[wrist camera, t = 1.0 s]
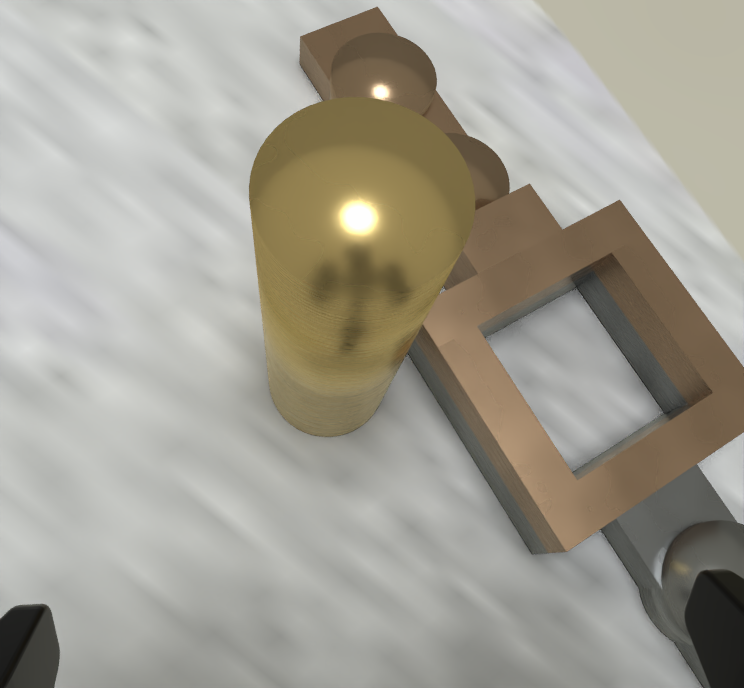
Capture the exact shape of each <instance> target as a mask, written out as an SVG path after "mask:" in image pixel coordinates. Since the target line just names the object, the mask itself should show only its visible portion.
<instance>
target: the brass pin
mask: <svg viewBox="0 0 744 688" xmlns="http://www.w3.org/2000/svg"><path fill="white" fill-rule="evenodd" d="M249 201H250V210H251V219H252V229H253V238H254V247H255V257H256V266H257V275H258V285H259V294H260V303H261V313H262V322H263V331H264V341H265V350H266V359H267V369H268V378H269V387H270V393H271V396H272V399H273V402H274V404H275V406H276V408H277V409H278V411H279V412H280V414H281V415H282V416H283V417H284V419H285V420H286V421H288V422H289V423H290V424H291V425H293V426H294V427H295V428H297V429H299V430H301V431H303V432H305V433H308V434H311V435H315V436H322V437H333V436H339V435H343V434H347V433H349V432H352V431H354V430H356V429H357V428H359V427H360V426H362V425H363V424H364V423H366V422H367V421H368V420H369V419H370V418H371V416H372V415H373V414H374V413H375V411H376V410H377V408H378V406H379V404H380V402H381V400H382V399H383V397H384V395H385V393H386V391H387V389H388V387H389V386H390V384H391V382H392V380H393V378H394V376H395V374H396V373H397V371H398V369H399V367H400V365H401V363H402V361H403V360H404V358H405V356H406V354H407V352H408V350H409V348H410V347H411V345H412V343H413V341H414V339H415V337H416V335H417V334H418V332H419V330H420V328H421V326H422V324H423V322H424V321H425V319H426V317H427V315H428V313H429V311H430V309H431V308H432V306H433V304H434V302H435V300H436V298H437V296H438V295H439V293H440V291H441V289H442V287H443V285H444V283H445V281H446V280H447V278H448V276H449V274H450V272H451V270H452V268H453V267H454V265H455V263H456V261H457V259H458V257H459V255H460V254H461V252H462V250H463V248H464V246H465V244H466V242H467V240H468V238H469V236H470V232H471V229H472V226H473V222H474V215H475V192H474V185H473V181H472V178H471V174H470V171H469V169H468V167H467V165H466V162H465V160H464V158H463V157H462V155H461V153H460V152H459V150H458V149H457V147H456V146H455V145H454V144H453V142H452V141H451V140H450V138H449V137H448V136H447V135H446V134H445V133H444V132H443V131H442V130H441V129H439V128H438V127H437V126H436V125H434V124H433V123H432V122H431V121H429V120H428V119H426V118H425V117H423V116H421V115H420V114H418V113H416V112H414V111H412V110H410V109H408V108H406V107H404V106H401V105H398V104H395V103H392V102H388V101H384V100H380V99H374V98H365V97H346V98H336V99H331V100H326V101H322V102H319V103H316V104H313V105H310V106H308V107H306V108H304V109H302V110H300V111H298V112H296V113H294V114H293V115H291V116H290V117H288V118H287V119H285V120H284V121H283V122H282V123H281V124H280V125H279V126H277V127H276V128H275V129H274V130H273V132H272V133H271V134H270V135H269V136H268V137H267V139H266V140H265V142H264V143H263V145H262V146H261V148H260V150H259V152H258V154H257V156H256V158H255V161H254V164H253V167H252V171H251V176H250V183H249Z"/></svg>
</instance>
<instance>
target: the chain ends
mask: <svg viewBox="0 0 744 688" xmlns="http://www.w3.org/2000/svg"><path fill="white" fill-rule="evenodd" d="M300 65H301V67H302V68H303V70H304V71H305V73H306V74H307V76H308V77H309V79H310V80H311V82H312V83H313V85H314V87H315V88H316V90H317V91H318V93H319V94H320V96H321V97H322V99H323V100H324V101H326V100H331V99H336V98H346V97H365V98H374V99H380V100H384V101H388V102H392V103H395V104H398V105H401V106H404V107H406V108H408V109H410V110H412V111H414V112H416V113H418V114H420V115H421V116H423V117H425V118H426V119H428V120H429V121H431V122H432V123H433V124H434V125H436V126H437V127H438V128H439V129H441V130H442V131H443V132H444V133H445V134H446V135H447V136H448V137H449V138H450V140H451V141H452V142H453V144H454V145H455V146H456V147H457V149H458V150H459V152H460V153H461V155H462V157H463V158H464V160H465V162H466V165H467V167H468V169H469V171H470V174H471V178H472V181H473V185H474V192H475V215H474V222H473V226H472V229H471V232H470V236H469V238H468V240H467V242H466V244H465V246H464V248H463V250H462V252H461V254H460V255H459V257H458V259H457V261H456V263H455V265H454V267H453V268H452V270H451V272H450V274H449V276H448V278H447V280H446V281H445V283H444V285H443V286H444V287H445V289H446V291H445V292H443V293H441V294H439V295H438V296H437V298H436V300H435V302H434V304H433V306H432V308H431V309H430V311H429V313H428V315H427V317H426V319H425V321H424V322H423V324H422V326H421V328H420V330H419V332H418V334H417V335H416V337H415V339H414V341H413V343H412V345H411V347H410V348H409V350H408V354H409V356H410V357H411V359H412V361H413V362H414V364H415V365H416V367H417V369H418V370H419V372H420V373H421V375H422V377H423V378H424V380H425V382H426V383H427V385H428V386H429V388H430V390H431V391H432V393H433V395H434V396H435V398H436V399H437V401H438V403H439V404H440V406H441V407H442V409H443V411H444V412H445V414H446V416H447V417H448V419H449V420H450V422H451V424H452V425H453V427H454V429H455V430H456V432H457V433H458V435H459V437H460V438H461V440H462V441H463V443H464V445H465V446H466V448H467V450H468V451H469V453H470V454H471V456H472V458H473V459H474V461H475V463H476V464H477V466H478V467H479V469H480V471H481V472H482V474H483V475H484V477H485V479H486V480H487V482H488V484H489V485H490V487H491V488H492V490H493V492H494V493H495V495H496V497H497V498H498V500H499V501H500V503H501V505H502V506H503V508H504V509H505V511H506V513H507V514H508V516H509V518H510V519H511V521H512V522H513V524H514V526H515V527H516V529H517V530H518V532H519V534H520V535H521V537H522V539H523V540H524V542H525V543H526V545H527V547H528V548H529V550H530V552H531V553H532V554H543V553H557V552H567V551H569V550H570V549H572V548H573V547H574V546H576V545H577V544H579V543H580V542H582V541H583V540H585V539H586V538H588V537H589V536H591V535H592V534H594V533H595V532H597V531H598V530H600V529H601V530H602V531H603V533H604V534H605V536H606V537H607V539H608V541H609V542H610V544H611V545H612V547H613V548H614V550H615V551H616V553H617V554H618V556H619V558H620V559H621V561H622V562H623V564H624V565H625V567H626V568H627V570H628V571H629V573H630V575H631V576H632V578H633V579H634V581H635V582H636V584H637V585H638V587H639V590H640V595H641V599H642V602H643V605H644V607H645V609H646V611H647V613H648V615H649V617H650V618H651V620H652V621H653V623H654V624H655V625H656V627H657V628H658V629H659V630H660V631H661V632H662V633H663V634H664V635H666V636H667V637H668V638H669V639H671V640H672V641H674V643H675V644H676V646H677V647H678V649H679V650H680V652H681V653H682V655H683V656H684V658H685V659H686V661H687V663H688V664H689V666H690V667H691V669H692V670H693V672H694V673H695V675H696V676H697V678H698V680H699V681H700V683H701V684H702V686H703V687H704V688H710V686H709V684H708V681H707V679H706V676H705V673H704V671H703V668H702V666H701V663H700V661H699V658H698V656H697V653H696V651H695V648H694V646H693V643H692V641H691V638H690V636H689V633H688V631H687V628H686V624H685V619H684V612H685V607H686V604H687V601H688V598H689V595H690V593H691V590H692V587H693V584H694V581H695V578H696V576H697V574H698V573H699V572H701V571H703V570H712V569H727V570H731V571H733V572H734V573H736V574H738V575H739V576H741V577H742V578H744V525H743V524H740V523H737V521H736V520H735V518H734V517H733V516H732V514H731V513H730V511H729V510H728V508H727V507H726V506H725V504H724V503H723V501H722V500H721V498H720V497H719V496H718V494H717V493H716V491H715V490H714V488H713V487H712V485H711V484H710V483H709V481H708V480H707V478H706V477H705V475H704V474H703V473H702V471H701V470H700V468H699V467H698V465H697V463H699V462H700V461H702V460H703V459H705V458H706V457H708V456H709V455H711V454H712V453H714V452H715V451H716V450H718V449H719V448H721V447H722V446H724V445H725V444H727V443H728V442H730V441H731V440H733V439H734V438H736V437H737V436H739V435H740V434H742V433H743V432H744V367H743V366H742V364H741V363H740V362H739V360H738V359H737V358H736V356H735V355H734V353H733V352H732V351H731V349H730V348H729V347H728V345H727V344H726V343H725V341H724V340H723V339H722V337H721V336H720V335H719V333H718V332H717V331H716V329H715V328H714V326H713V325H712V324H711V322H710V321H709V320H708V318H707V317H706V316H705V314H704V313H703V312H702V310H701V309H700V308H699V306H698V305H697V303H696V302H695V301H694V299H693V298H692V297H691V295H690V294H689V293H688V291H687V290H686V289H685V287H684V286H683V285H682V283H681V282H680V281H679V279H678V278H677V276H676V275H675V274H674V272H673V271H672V270H671V268H670V267H669V266H668V264H667V263H666V262H665V260H664V259H663V258H662V256H661V255H660V253H659V252H658V251H657V249H656V248H655V247H654V245H653V244H652V243H651V241H650V240H649V239H648V237H647V236H646V235H645V233H644V232H643V231H642V229H641V228H640V226H639V225H638V224H637V222H636V221H635V220H634V218H633V217H632V216H631V214H630V213H629V212H628V210H627V209H626V208H625V206H624V205H623V203H622V202H621V201H620V200H618V201H616V202H614V203H613V204H611V205H609V206H607V207H605V208H603V209H601V210H599V211H597V212H595V213H593V214H592V215H590V216H588V217H586V218H584V219H582V220H580V221H578V222H576V223H574V224H572V225H571V226H569V227H567V228H565V229H563V230H562V228H561V227H560V226H559V224H558V223H557V221H556V220H555V219H554V217H553V216H552V214H551V213H550V212H549V210H548V209H547V207H546V206H545V204H544V203H543V202H542V200H541V199H540V197H539V196H538V195H537V193H536V192H535V190H534V189H533V188H532V186H531V185H530V184H528V185H526V186H524V187H522V188H520V189H518V190H516V191H514V192H512V193H510V194H509V190H510V187H509V177H508V174H507V171H506V168H505V166H504V164H503V163H502V161H501V159H500V158H499V157H498V155H497V154H496V153H495V152H494V151H493V150H492V149H491V148H489V147H488V146H487V145H486V144H484V143H482V142H481V141H479V140H477V139H475V138H473V137H470V136H468V135H467V134H466V133H465V131H464V130H463V128H462V127H461V125H460V124H459V123H458V121H457V120H456V118H455V117H454V115H453V114H452V113H451V111H450V110H449V108H448V107H447V105H446V104H445V103H444V101H443V100H442V98H441V97H440V95H439V94H438V92H437V91H436V86H437V78H436V72H435V68H434V66H433V64H432V62H431V60H430V59H429V57H428V56H427V55H426V53H425V52H424V51H423V50H422V49H421V48H420V47H418V46H417V45H416V44H414V43H413V42H411V41H410V40H407V39H405V38H403V37H400V36H398V35H397V34H396V32H395V31H394V29H393V28H392V26H391V25H390V24H389V22H388V21H387V19H386V18H385V16H384V15H383V14H382V12H381V11H380V9H379V8H378V7H376V8H373V9H370V10H368V11H365V12H363V13H360V14H357V15H355V16H352V17H350V18H347V19H344V20H342V21H339V22H337V23H334V24H331V25H329V26H326V27H324V28H321V29H319V30H316V31H313V32H311V33H308V34H306V35H303V36H300ZM576 287H577V288H578V289H579V291H580V292H581V294H582V295H583V296H584V298H585V299H586V301H587V302H588V304H589V305H590V306H591V308H592V309H593V311H594V312H595V314H596V315H597V317H598V318H599V319H600V321H601V322H602V324H603V325H604V327H605V328H606V329H607V331H608V332H609V334H610V335H611V337H612V338H613V339H614V341H615V342H616V344H617V345H618V347H619V348H620V349H621V351H622V352H623V354H624V355H625V357H626V358H627V359H628V361H629V362H630V364H631V365H632V367H633V368H634V369H635V371H636V372H637V374H638V375H639V377H640V378H641V379H642V381H643V382H644V384H645V385H646V387H647V388H648V390H649V391H650V392H651V394H652V395H653V397H654V398H655V400H656V401H657V402H658V404H659V405H660V407H661V408H662V410H663V411H664V412H665V413H664V414H663V415H661V416H660V417H658V418H657V419H655V420H653V421H652V422H650V423H649V424H647V425H646V426H644V427H643V428H641V429H639V430H638V431H636V432H635V433H633V434H632V435H630V436H629V437H627V438H625V439H624V440H622V441H621V442H619V443H618V444H616V445H614V446H613V447H611V448H610V449H608V450H607V451H605V452H604V453H602V454H600V455H599V456H597V457H596V458H594V459H593V460H591V461H589V462H588V463H586V464H585V465H583V466H582V467H580V468H579V469H577V470H575V471H574V472H571V470H570V468H569V467H568V465H567V464H566V462H565V461H564V459H563V458H562V456H561V455H560V453H559V452H558V450H557V448H556V447H555V445H554V444H553V442H552V441H551V439H550V438H549V436H548V435H547V433H546V432H545V430H544V428H543V427H542V425H541V424H540V422H539V421H538V419H537V418H536V416H535V415H534V413H533V412H532V410H531V408H530V407H529V405H528V404H527V402H526V401H525V399H524V398H523V396H522V395H521V393H520V392H519V390H518V388H517V387H516V385H515V384H514V382H513V381H512V379H511V378H510V376H509V375H508V373H507V372H506V370H505V368H504V367H503V365H502V364H501V362H500V361H499V359H498V358H497V356H496V355H495V353H494V352H493V350H492V348H491V347H490V345H489V344H488V342H487V341H486V339H485V338H486V337H487V336H489V335H491V334H493V333H495V332H497V331H498V330H500V329H502V328H504V327H506V326H507V325H509V324H511V323H513V322H515V321H516V320H518V319H520V318H522V317H524V316H525V315H527V314H529V313H531V312H533V311H534V310H536V309H538V308H540V307H542V306H543V305H545V304H547V303H549V302H551V301H552V300H554V299H556V298H558V297H560V296H561V295H563V294H565V293H567V292H569V291H570V290H572V289H574V288H576Z"/></svg>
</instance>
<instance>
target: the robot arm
mask: <svg viewBox="0 0 744 688" xmlns="http://www.w3.org/2000/svg"><path fill="white" fill-rule="evenodd" d="M684 619H685V624H686V628H687V631H688V633H689V636H690V638H691V641H692V643H693V646H694V648H695V651H696V653H697V656H698V658H699V661H700V663H701V666H702V668H703V671H704V673H705V676H706V679H707V681H708V684H709V686H710V688H744V578H742V577H741V576H739V575H738V574H736V573H734V572H733V571H731V570H727V569H712V570H703V571H701V572H699V573H698V574H697V576H696V578H695V581H694V584H693V587H692V590H691V593H690V595H689V598H688V601H687V604H686V607H685V612H684ZM59 659H60V649H59V643H58V639H57V634H56V630H55V625H54V621H53V617H52V612H51V610H50V608H49V606H47V605H45V604H32V605H18V606H15V607H13V608H12V609H10V610H9V611H8V612H7V613H6V614H5V615H4V616H3V617H2V618H0V688H54V685H55V681H56V676H57V671H58V666H59Z"/></svg>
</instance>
